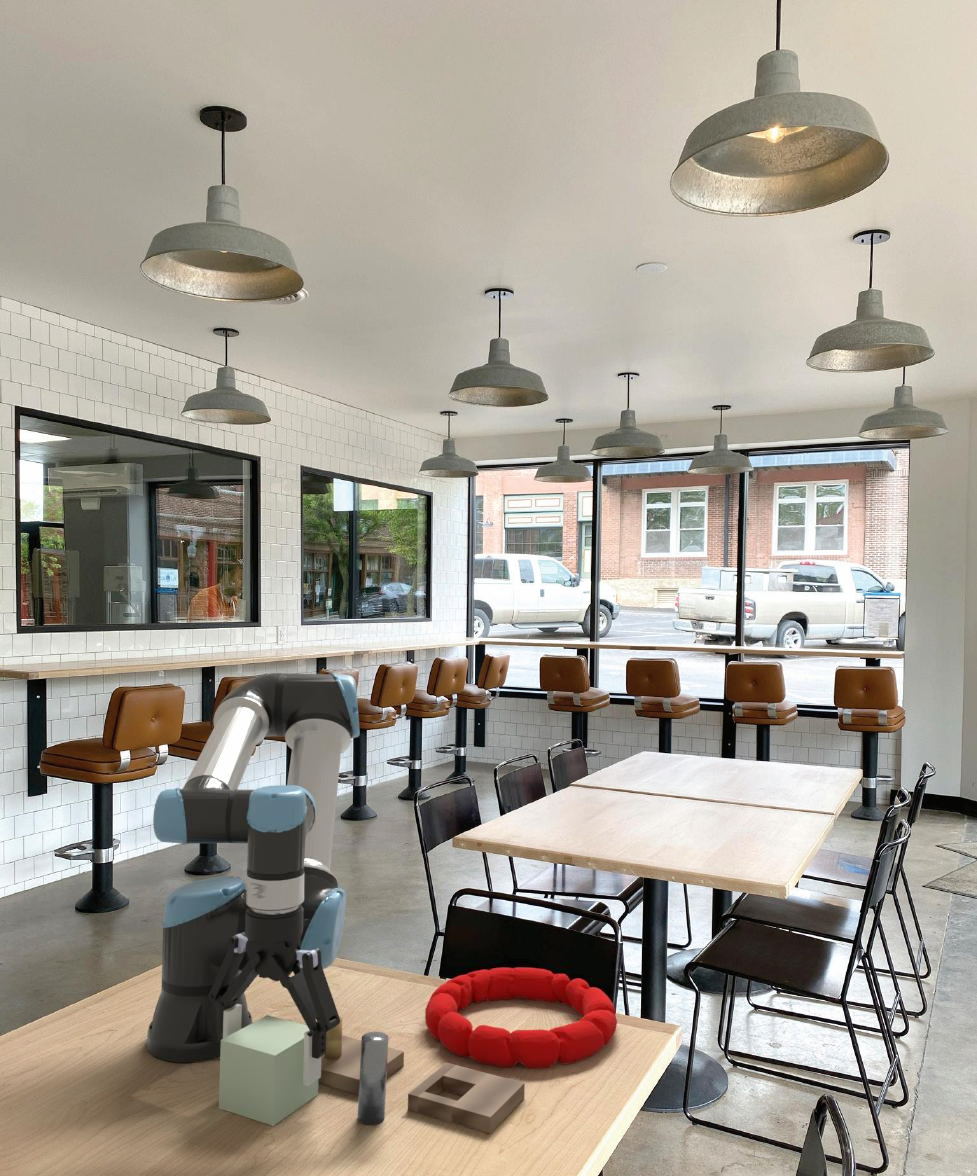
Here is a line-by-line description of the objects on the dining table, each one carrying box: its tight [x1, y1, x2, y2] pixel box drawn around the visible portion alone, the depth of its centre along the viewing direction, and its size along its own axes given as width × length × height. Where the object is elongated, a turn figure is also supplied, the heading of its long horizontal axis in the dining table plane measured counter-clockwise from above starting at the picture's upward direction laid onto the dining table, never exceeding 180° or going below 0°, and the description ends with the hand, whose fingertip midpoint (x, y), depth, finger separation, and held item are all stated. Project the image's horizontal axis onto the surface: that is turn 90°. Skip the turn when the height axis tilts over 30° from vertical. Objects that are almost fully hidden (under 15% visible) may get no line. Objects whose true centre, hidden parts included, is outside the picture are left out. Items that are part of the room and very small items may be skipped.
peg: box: [357, 1031, 389, 1126], centre depth 118 cm, size 3×3×10 cm
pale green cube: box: [218, 1014, 319, 1127], centre depth 122 cm, size 9×9×9 cm
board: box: [318, 1016, 405, 1096], centre depth 130 cm, size 12×10×7 cm
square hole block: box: [407, 1062, 526, 1134], centre depth 122 cm, size 12×10×2 cm
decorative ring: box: [424, 966, 618, 1069], centre depth 146 cm, size 7×30×30 cm
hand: (270, 1068), depth 122 cm, fingers open, 13 cm apart
